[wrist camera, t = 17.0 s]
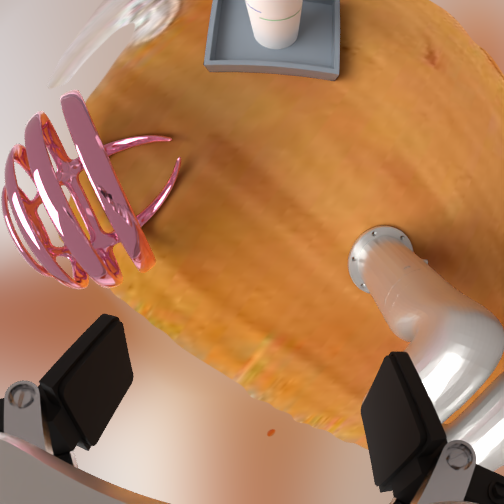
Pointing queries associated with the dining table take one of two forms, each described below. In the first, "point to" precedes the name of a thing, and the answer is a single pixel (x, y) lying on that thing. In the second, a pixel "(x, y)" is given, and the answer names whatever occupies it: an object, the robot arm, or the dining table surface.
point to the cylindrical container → (275, 21)
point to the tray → (275, 60)
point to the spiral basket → (77, 200)
